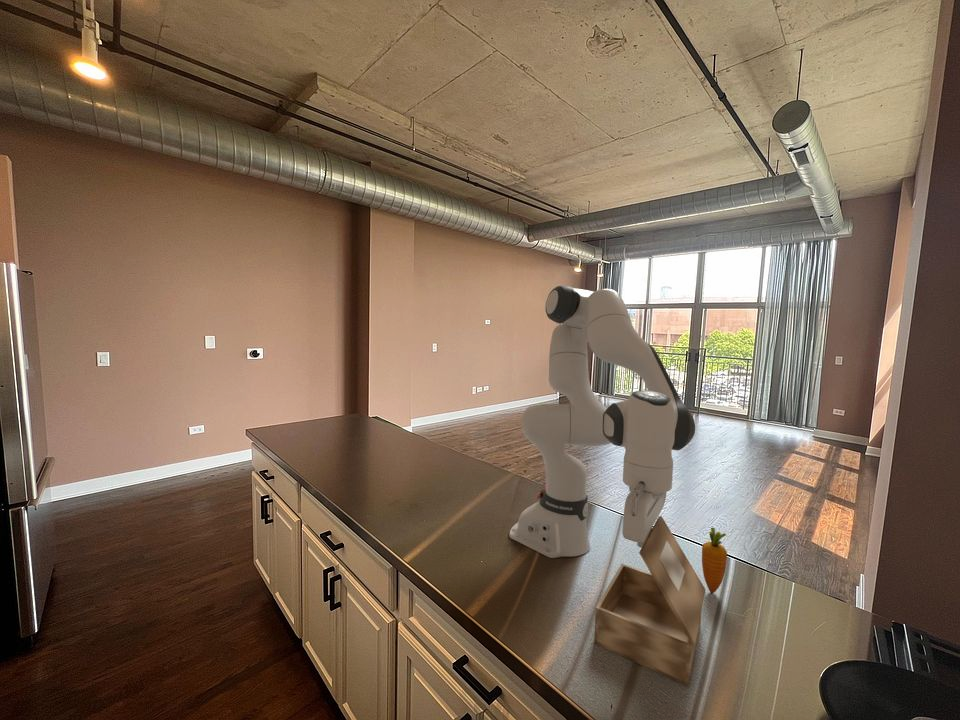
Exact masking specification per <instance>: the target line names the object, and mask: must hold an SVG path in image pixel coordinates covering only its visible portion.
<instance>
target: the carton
mask: <svg viewBox="0 0 960 720" xmlns="http://www.w3.org/2000/svg"><path fill="white" fill-rule="evenodd" d="M594 616H595V617H594V634H593V643H594V644H595V645H597V646H599V647H602V648H604V649H606V650H608V651H611V652H612V653H615V654H616V655H619V656H621V657H623V658H626V659H627V660H630V661H632V662H634V663H636V664H639V665H641V666H643V667H645V668H647V669H650V670H652V671H653V672H655V673H658V674H659V675H662V676H664V677H666V678H668V679H671V680H673V681H675V682H676V683H679V684H681V685H683V686H685V687H688V688H689V686H690V683H691V677H692V672H693V666H694V661H695V656H696V651H697V647H698V646H697V645H698V639H699V634H700V630H701V629H700V628H701V622H702V615H701V616H700V621H699V626H698V631H697V636H696V641H695V644H691V643H690V641H689V639H688V637H687V636H686V634H685V632H684V630H683V629H682V627H681V625H680V623H679V622H678V620H677V618H676V616H675V615H674V613H673V611H672V609H671V608H670V606H669V604H668V602H667V601H666V599H665V597H664V595H663V594H662V592H661V590H660V588H659V587H658V585H657V583H656V581H655V580H654V578H653V576H652V574H651V573H650V572H649V571H648V572H647V571H644V570H641V569H639V568H636V567H632V566H630V565H627V564H624V563H621V564H620V566H619V568H618V569H617V571H616V573H615V575H614V576H613V578H612V580H611V581H610V583H609V584H608V586H607V587H606V589H605V591H604V593H603V595H601V598H600V599H599V601H598V603H597V605H595V613H594Z"/></svg>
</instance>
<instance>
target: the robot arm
mask: <svg viewBox="0 0 960 720" xmlns="http://www.w3.org/2000/svg"><path fill="white" fill-rule="evenodd" d="M544 310H545V313H546V316H547V318H548V319H549V320H551V321H553V322H554V323H556V324H558V325H557V326H555V328H554V329H553V331H552V335H551V339H550V343H549V344H550V345H549V352H548V353H549V354H548V356H549V358H548V359H549V360H548V382H549V385H550V387H551V388H552V389H553V390H554V391H556V392H557V393H559V394H561V395H563V396H564V397H566V398H567V399H568V400H569V404H559V403H558V404H557V403H555V404H554V403H542V404H534V405H529V406H528V407H526V408H525V410H524V412H523V414H522V417H521V420H520V421H521V422H520V426H521V431H522V433H523V436H524V437H525V438H526V439H527V440H528V441H529V442H530V443H532V444H533V445H534V446H535V448H537V450H538V452H539V453H540V455H541V457H542V459H543V462H544V469H545V486H544V487H543V489H542V490H540V491H539V493H537V495H536V496H537V497H536V499H539V501H537V502H534V504H531V505H530V506H528V507H527V508H525V509H524V510H523V511H522V512H521V513H520V516H519V518H518V521H517V522H516V523H515V524H514V525H513V526H512V527H511V528H510V530H509V535H508V536H509V538H510V539H511V540H514V541H516V542H518V543H520V544H522V545H524V546H526V547H527V548H529V549H531V550H534V551H535V552H537V553H540V554H541V555H543V556H545V557H548V558H550V559H556V558H561V557H577V556H582V555H585V554H586V553H588V552H589V551H590V549H591V543H590V539H589V536H588V528H587V527H588V525H587V516H588V511H589V510H588V509H589V504H588V500H589V499H588V497H589V496H588V495H587V486H588V483H587V482H588V469H587V467H586V465H585V464H584V462H582V461H581V460H580V459H578V458H577V457H575V456H573V455H571V454H570V453H568V452H567V451H566V449H565V447H566V446H577V447H578V446H579V447H580V446H581V447H591V448H592V447H600V446H606V445H610V444H612V445H613V446H616V447H621V448H624V449H625V452H624V456H623V463H622V464H623V466H622V467H623V470H622V471H623V472H622V482H623V483H624V485H626V486H628V491H629V493H628V494H627V496H626V498H625V502H624V509H623V517H622V518H623V519H622V531H621V532H622V537H623V538H624V539H625V540H628V541H631V542H634V543H636V546H637V547H639V548H642V546H643V545H644V543H645V541H646V539H647V537H648V535H649V533H650V532H651V530H652V528H653V526H654V524H655V522H656V521H657V519H658V517H659V516H660V514H661V512H662V510H663V508H664V506H665V503H666V500H667V499H666V498H667V493H668V492H670V491H671V490H672V489H673V475H674V474H673V473H674V459H673V456H672V451H681V450H682V449H684V448H685V447H686V446H687V445H688V444H689V443H690V442H691V441H692V440H693V438H694V436H695V434H696V423H695V420H694V416H693V415H692V412H691V411H690V410H689V408H688V407H687V406H686V404H685V403H684V402H683V401H682V399H681V397H680V395H679V394H678V392H677V389H676V388H675V385H674V384H673V382H672V380H671V377H670V376H669V374H668V371H667V370H666V368H665V366H664V363H663V361H662V359H661V358H660V356H659V355H658V353H657V351H656V350H655V348H654V347H653V346H652V345H651V344H650V343H648V342H647V341H646V340H644V339H643V338H642V337H641V336H640V335H639V333H638V332H637V331H636V329H635V327H634V326H633V323H632V320H631V317H630V314H629V311H628V308H627V305H626V303H625V302H624V300H623V298H622V296H621V295H620V294H619V292H617V291H615V290H614V289H612V288H611V289H610V288H601V289H600V288H599V289H597V290H595V291H594V290H589V289H582V288H578V287H577V288H576V287H572V286H569V285H558V286H556V287H554V288H553V289H552V290H551V291H550V292H549V293H548V295H547V299H546V301H545V309H544ZM588 345H589V348H590V350H591V352H592V353H593V354H594V355H595V357H598V359H600V360H602V362H603V361H604V362H606V363H608V364H611V365H615V366H618V367H621V368H624V369H627V370H629V371H631V372H633V373H635V374H636V375H638V376H639V377H640V379H642V381H643V382H644V385H645V387H646V389H647V390H636V391H633V392H631V393H630V395H629V396H628V398H627V399H626V400H623V401H620V402H618V401H617V402H614V403H611V404H609V405H608V407H606V406H605V405H604V404H603V403H601V401H600V400H599V399H598V398H597V397H596V395H595V393H594V391H593V388H592V386H591V383H590V375H589V355H588V353H589V352H588Z"/></svg>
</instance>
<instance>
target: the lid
mask: <svg viewBox="0 0 960 720" xmlns="http://www.w3.org/2000/svg"><path fill="white" fill-rule="evenodd" d="M640 548H641V547H640ZM638 553H639V556H640V557H641V558H642V560H643V562H644V564H645V565H646V567H647V568H648V572H649V573H651V574H652V576H653V578H654V580H655V581H656V583H657V585H658V587H659V588H660V590H661V592H662V594H663V595H664V597H665V599H666V601H667V602H668V604H669V606H670V608H671V609H672V611H673V613H674V615H675V616H676V618H677V620H678V622H679V623H680V625H681V627H682V629H683V630H684V632H685V634H686V636H687V637H688V639H689V641H690V643H691V644H695V641H696V636H697V631H698V626H699V621H700V616H701V617H702V611H703V605H704V600H705V595H706V587H705V586H704V585H703V582H702V581H701V579H700V578H699V576H698V574H697V573H696V571H695V570H694V568H693V566H692V564H691V562H690V560H688V558H687V556H686V555H685V552H684V550H683V549H682V548H681V546H680V544H679V543H678V541H677V539H676V537H675V536H674V534H673V533H672V531H671V529H670V527H669V526H668V525H667V522H666V521H665V519H664V517H663V516H662V515H659V516H658V517H657V519H656V521H655V523H654V524H653V526H652V530H651V532H650V533H649V535H648V537H647V539H646V541H645V543H644V545H643V546H642V548H641V549H640V550H639V552H638Z"/></svg>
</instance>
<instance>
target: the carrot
mask: <svg viewBox="0 0 960 720" xmlns="http://www.w3.org/2000/svg"><path fill="white" fill-rule="evenodd" d="M725 536H727V534H726V533H721V532H720V531H716V529H715V527H711V528H710V531H709V538H710V541H707V542H704V543H702V547H701V548H702V549H701V565H702V566H701V567H702V573H703V577H704V581H705V584H706V586H707V589H708V591H709V592H710V593H711V594H714V593H716V592H717V591H718V589H719V588H720V586H721V584H722V582H723V580H724V578H725V573H726V569H727V563H728V560H727V559H728V552H727V549H726V548H725V547H724V546H723V545H722V543H723V542H722V540H721V539H722V538H724V537H725Z"/></svg>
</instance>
